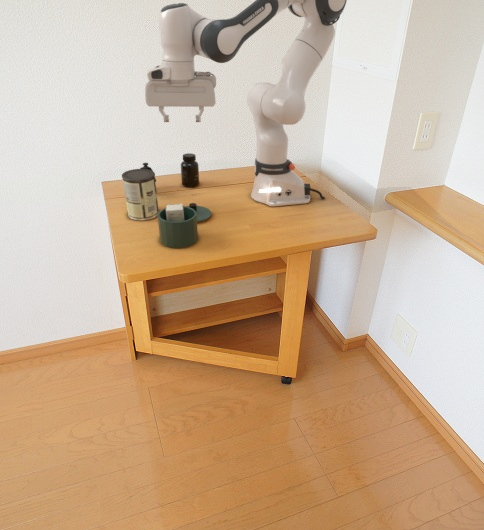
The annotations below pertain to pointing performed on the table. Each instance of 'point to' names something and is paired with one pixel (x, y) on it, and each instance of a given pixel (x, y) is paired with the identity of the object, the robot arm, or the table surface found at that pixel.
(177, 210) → the small printed carton
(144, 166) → the controller
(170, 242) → the dark green round container
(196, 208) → the dark green lid
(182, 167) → the supplement bottle
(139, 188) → the coffee can
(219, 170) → the table surface
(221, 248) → the table surface
